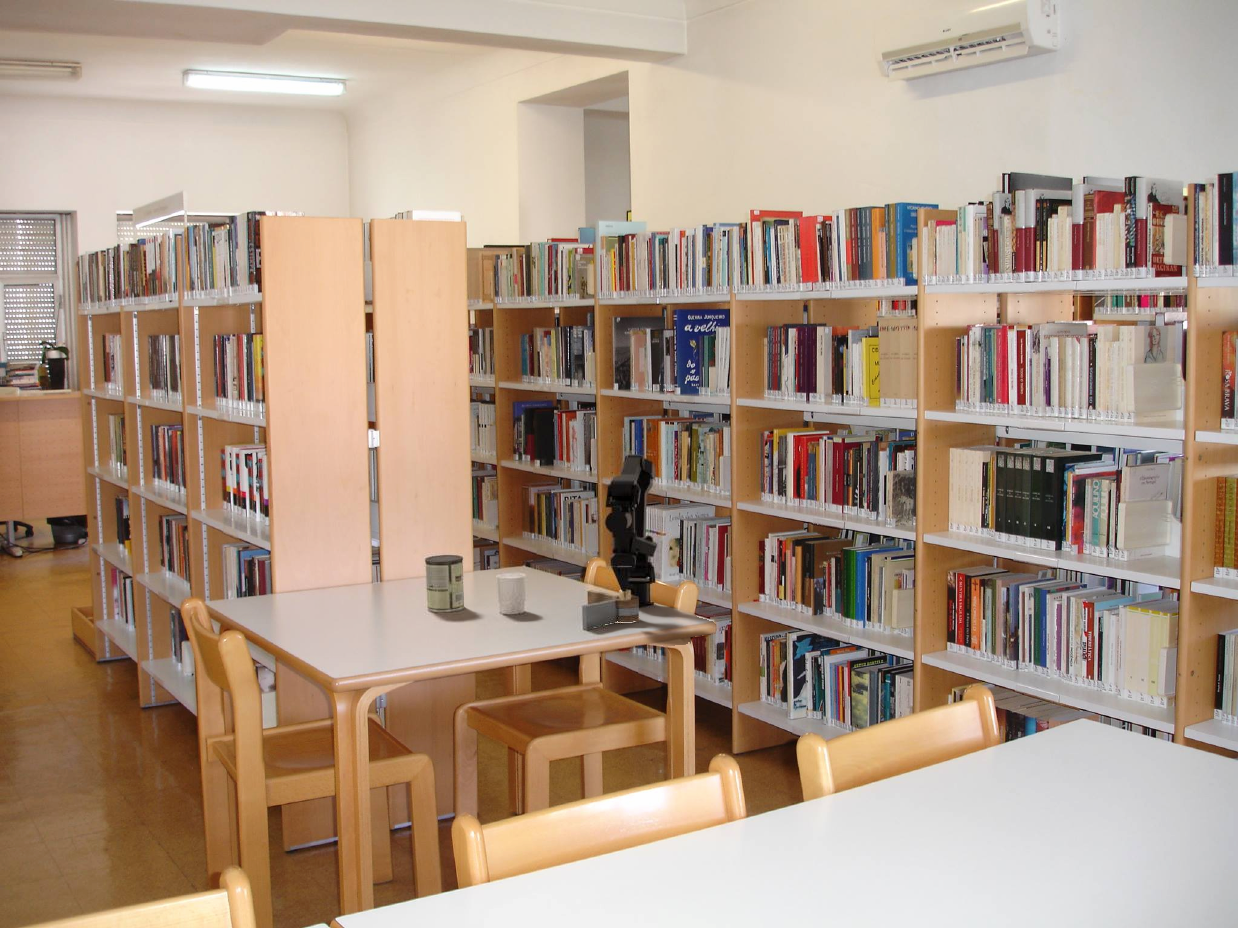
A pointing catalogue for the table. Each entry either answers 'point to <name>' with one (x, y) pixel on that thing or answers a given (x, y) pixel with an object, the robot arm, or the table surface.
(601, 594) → the tan hinge leaf
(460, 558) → the coffee can
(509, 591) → the white cup
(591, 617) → the slate leaf
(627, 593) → the brass pin
